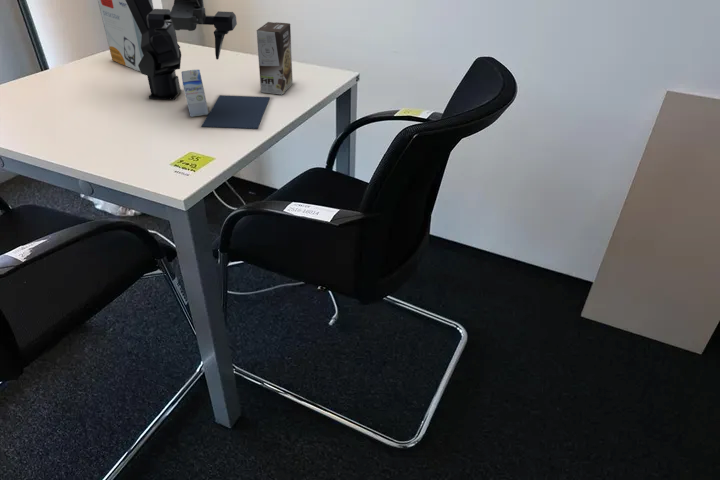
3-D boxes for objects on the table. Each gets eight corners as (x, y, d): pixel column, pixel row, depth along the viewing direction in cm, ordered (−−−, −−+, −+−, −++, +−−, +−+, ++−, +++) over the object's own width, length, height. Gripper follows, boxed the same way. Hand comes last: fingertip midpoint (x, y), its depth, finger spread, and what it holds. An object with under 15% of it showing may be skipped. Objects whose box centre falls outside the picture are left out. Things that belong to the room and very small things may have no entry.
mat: (201, 127, 124) (201, 125, 124) (219, 96, 140) (219, 95, 140) (257, 129, 124) (257, 127, 124) (269, 98, 140) (269, 97, 140)
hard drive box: (111, 61, 159) (93, -12, 147) (133, 55, 164) (118, -16, 152) (142, 73, 151) (126, -3, 140) (165, 66, 156) (152, -7, 145)
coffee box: (283, 95, 142) (280, 32, 132) (260, 92, 143) (255, 29, 133) (293, 83, 149) (291, 22, 139) (271, 81, 150) (267, 20, 140)
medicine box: (188, 105, 134) (180, 71, 129) (206, 102, 135) (199, 68, 130) (190, 117, 128) (181, 82, 123) (209, 114, 129) (201, 79, 124)
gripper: (131, -8, 109) (146, 68, 119) (223, -4, 110) (231, 71, 119) (148, -19, 118) (161, 52, 128) (233, -16, 119) (240, 55, 128)
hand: (197, 58), depth 125 cm, fingers open, 9 cm apart
